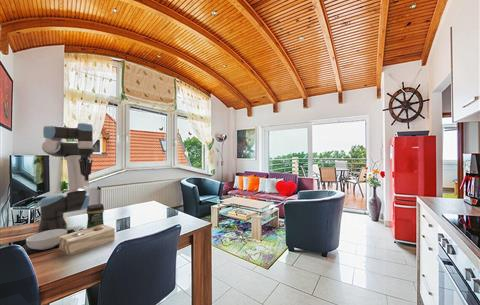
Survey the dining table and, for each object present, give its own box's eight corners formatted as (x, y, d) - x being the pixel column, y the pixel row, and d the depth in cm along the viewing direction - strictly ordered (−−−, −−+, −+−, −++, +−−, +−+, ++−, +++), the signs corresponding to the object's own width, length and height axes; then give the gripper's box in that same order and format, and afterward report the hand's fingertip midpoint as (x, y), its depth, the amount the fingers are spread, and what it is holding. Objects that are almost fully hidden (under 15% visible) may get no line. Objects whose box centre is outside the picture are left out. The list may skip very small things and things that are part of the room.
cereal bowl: (63, 237, 128) (63, 226, 128) (70, 245, 118) (70, 233, 118) (24, 247, 115) (24, 235, 115) (28, 257, 105) (27, 243, 105)
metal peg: (72, 247, 114) (72, 234, 114) (80, 244, 117) (80, 232, 117) (75, 249, 112) (75, 236, 112) (84, 246, 115) (83, 233, 115)
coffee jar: (86, 236, 130) (86, 207, 130) (86, 232, 137) (85, 204, 136) (105, 232, 137) (104, 204, 136) (103, 228, 143) (103, 202, 143)
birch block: (59, 249, 113) (59, 236, 113) (102, 235, 132) (102, 224, 132) (70, 255, 106) (70, 242, 106) (114, 239, 125) (114, 228, 125)
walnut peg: (92, 240, 123) (92, 228, 123) (99, 238, 126) (99, 226, 126) (95, 242, 121) (95, 230, 121) (103, 239, 124) (103, 228, 124)
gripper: (73, 148, 128) (73, 185, 128) (83, 148, 122) (83, 187, 122) (87, 148, 135) (87, 184, 135) (97, 148, 128) (97, 185, 128)
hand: (85, 185), depth 128 cm, fingers closed
